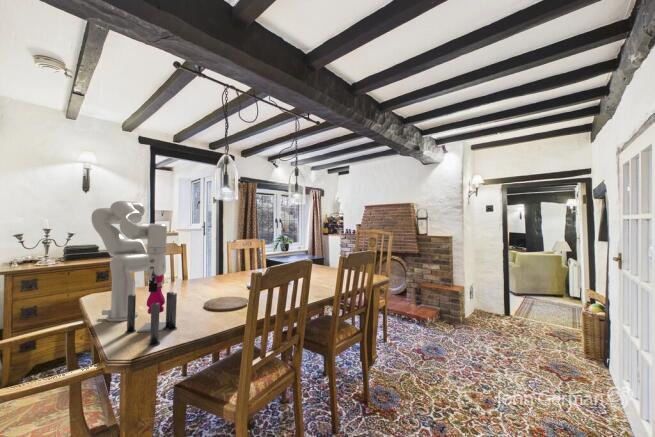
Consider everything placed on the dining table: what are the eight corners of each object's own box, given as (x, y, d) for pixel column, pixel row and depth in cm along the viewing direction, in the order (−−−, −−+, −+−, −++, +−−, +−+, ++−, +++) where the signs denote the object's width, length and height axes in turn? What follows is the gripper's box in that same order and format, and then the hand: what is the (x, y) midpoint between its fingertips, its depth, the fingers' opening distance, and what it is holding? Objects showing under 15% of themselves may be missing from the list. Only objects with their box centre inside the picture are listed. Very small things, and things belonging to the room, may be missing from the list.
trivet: (234, 313, 147) (234, 310, 147) (194, 310, 152) (194, 306, 152) (255, 301, 171) (255, 298, 171) (220, 298, 176) (220, 295, 176)
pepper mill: (142, 314, 121) (143, 270, 121) (152, 309, 129) (152, 267, 128) (159, 314, 122) (160, 270, 122) (167, 309, 129) (168, 267, 129)
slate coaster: (136, 332, 119) (136, 331, 119) (146, 324, 128) (146, 323, 128) (162, 330, 121) (162, 329, 121) (169, 322, 131) (169, 321, 131)
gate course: (102, 350, 102) (104, 307, 102) (130, 328, 123) (131, 292, 124) (163, 345, 107) (164, 304, 107) (179, 325, 128) (180, 291, 128)
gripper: (159, 252, 118) (157, 294, 118) (171, 249, 135) (170, 285, 134) (139, 252, 116) (138, 295, 116) (154, 249, 133) (153, 286, 132)
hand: (155, 289), depth 125 cm, fingers closed on pepper mill, 5 cm apart
